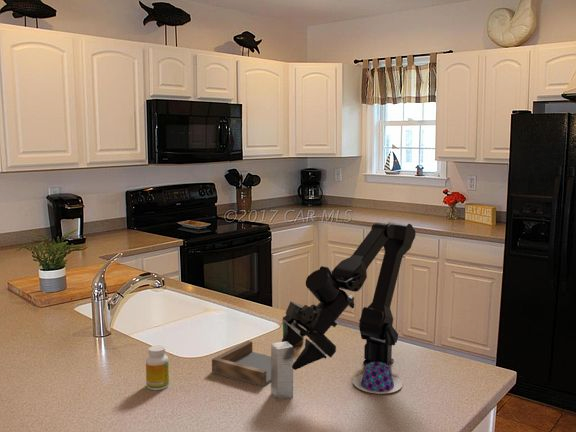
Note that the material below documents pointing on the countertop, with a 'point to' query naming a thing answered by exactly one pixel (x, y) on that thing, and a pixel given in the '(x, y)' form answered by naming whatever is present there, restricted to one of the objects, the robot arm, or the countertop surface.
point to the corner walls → (229, 367)
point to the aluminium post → (282, 370)
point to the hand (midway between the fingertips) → (285, 361)
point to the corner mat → (256, 362)
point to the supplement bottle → (157, 368)
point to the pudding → (377, 379)
